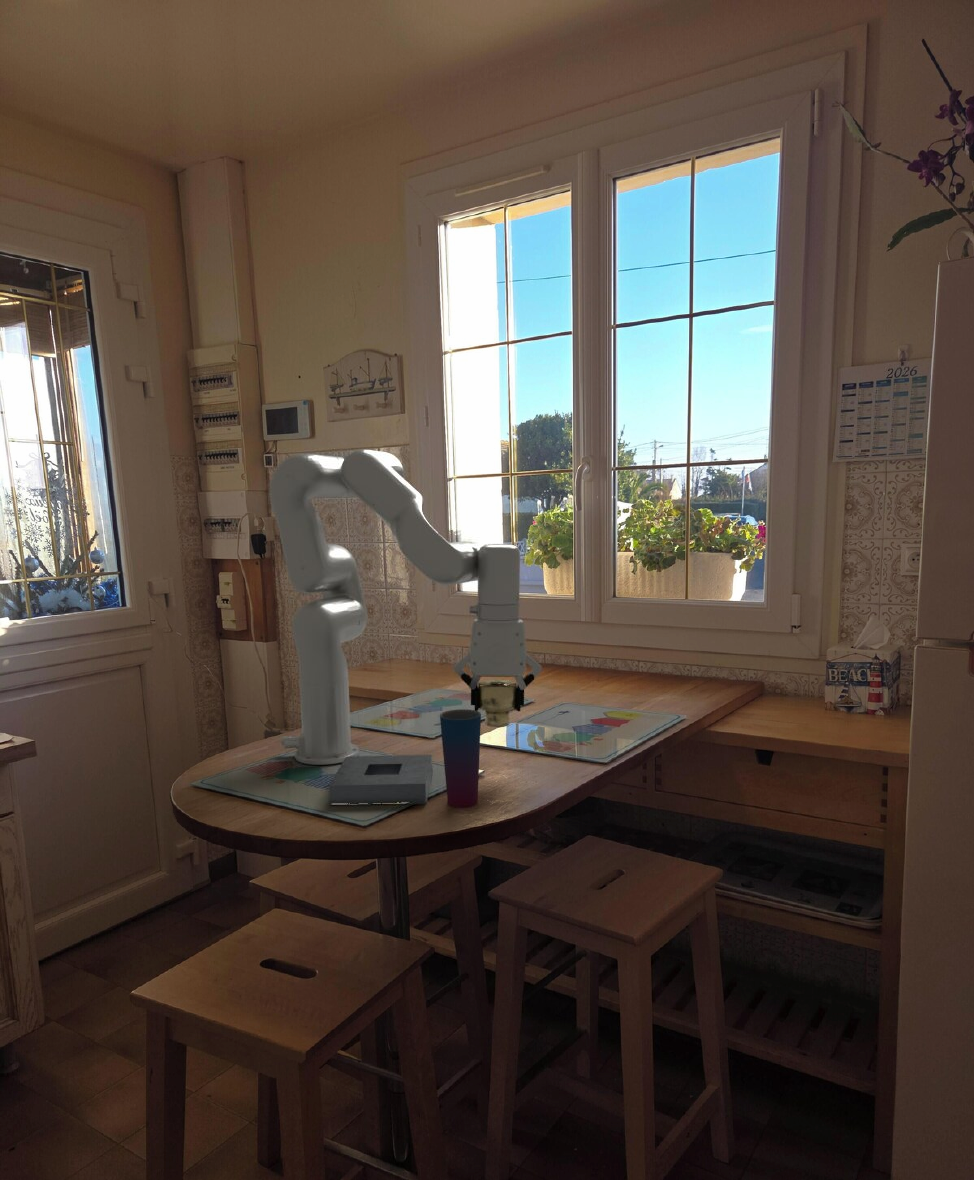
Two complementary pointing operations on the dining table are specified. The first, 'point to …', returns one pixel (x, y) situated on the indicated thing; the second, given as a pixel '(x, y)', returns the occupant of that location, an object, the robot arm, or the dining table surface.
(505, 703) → the bushing
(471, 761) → the cup
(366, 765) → the block
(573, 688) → the dining table surface
